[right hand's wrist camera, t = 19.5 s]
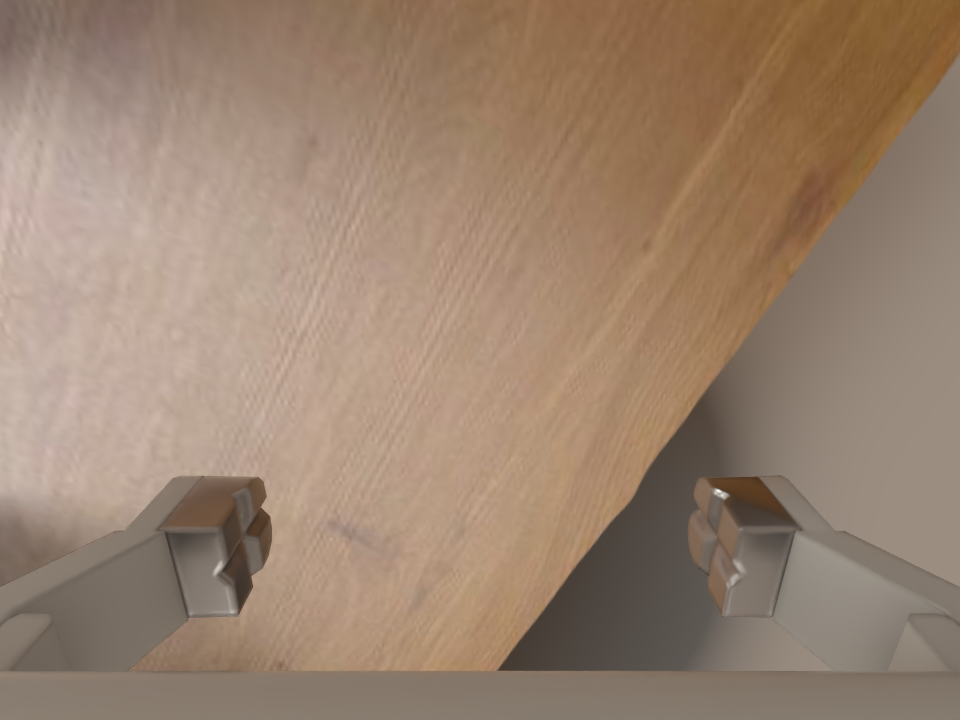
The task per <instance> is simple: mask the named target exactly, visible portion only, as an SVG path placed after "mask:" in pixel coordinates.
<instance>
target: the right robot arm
mask: <svg viewBox="0 0 960 720" xmlns="http://www.w3.org/2000/svg"><path fill="white" fill-rule="evenodd" d="M266 497H267V496H266V491H265V487H264V482H263V481H262V480H261V479H260V478H259V477H228V476H206V477H205V476H179V477H175V478H173V479H172V480H171V481H170V482H169V483H168V484H167V485H166V486H165V487H164V489H163V490H162V491H161V492H160V493H159V494H158V495H157V496H156V497H155V498H154V499H153V500H152V502H151V503H150V504H149V505H148V506H147V507H146V508H145V509H144V510H143V511H142V512H141V513H140V515H139V516H138V517H137V518H136V519H135V520H134V521H133V522H132V523H131V524H130V525H129V527H128V528H127V529H126V530H125V531H114V532H112V533H110V534H108V535H106V536H104V537H102V538H100V539H98V540H96V541H94V542H92V543H90V544H88V545H86V546H84V547H81V548H79V549H77V550H75V551H73V552H71V553H69V554H67V555H65V556H63V557H61V558H59V559H57V560H55V561H53V562H51V563H48V564H46V565H44V566H42V567H40V568H38V569H36V570H34V571H32V572H30V573H28V574H26V575H24V576H22V577H20V578H18V579H16V580H13V581H11V582H9V583H7V584H5V585H3V586H1V587H0V720H960V587H959V586H957V585H954V584H952V583H950V582H948V581H946V580H944V579H942V578H940V577H938V576H936V575H934V574H932V573H930V572H928V571H926V570H924V569H922V568H920V567H917V566H915V565H913V564H911V563H909V562H907V561H905V560H903V559H901V558H899V557H897V556H895V555H893V554H891V553H889V552H887V551H885V550H883V549H881V548H878V547H876V546H874V545H872V544H870V543H868V542H866V541H864V540H862V539H860V538H858V537H856V536H854V535H852V534H850V533H848V532H846V531H835V530H834V529H833V528H832V527H831V525H830V524H829V523H828V522H827V521H826V520H825V519H824V518H823V517H822V516H821V515H820V513H819V512H818V511H817V510H816V509H815V508H814V507H813V506H812V505H811V504H810V503H809V502H808V500H807V499H806V498H805V497H804V496H803V495H802V494H801V493H800V492H799V491H798V490H797V488H796V487H795V486H794V485H793V484H792V483H791V482H790V481H789V480H788V479H787V478H785V477H783V476H754V477H723V478H699V479H698V481H697V483H696V485H695V491H694V496H693V497H694V499H695V500H696V502H697V504H698V506H699V508H698V509H697V510H696V511H695V512H694V513H693V514H692V515H691V516H690V520H689V527H688V539H689V548H690V551H691V555H692V558H693V560H694V562H695V564H696V566H697V568H698V569H699V570H701V571H702V572H704V573H705V574H707V575H708V576H709V578H708V584H707V588H708V590H709V592H710V594H711V596H712V598H713V599H714V601H715V603H716V605H717V607H718V609H719V611H720V613H721V615H722V616H725V617H761V618H773V619H772V620H773V621H774V622H775V623H776V624H777V625H779V626H780V627H781V628H782V629H784V630H785V631H786V632H787V633H788V634H790V635H791V636H792V637H793V638H794V639H796V640H797V641H798V642H799V643H800V644H802V645H803V646H804V647H805V648H806V649H808V650H809V651H810V652H811V653H813V654H814V655H815V656H816V657H817V658H819V659H820V660H821V661H822V662H824V663H825V664H826V665H827V666H828V667H830V668H831V669H832V670H833V671H127V670H128V669H129V668H131V667H132V666H133V665H134V664H136V663H137V662H138V661H139V660H140V659H142V658H143V657H144V656H145V655H146V654H148V653H149V652H150V651H151V650H153V649H154V648H155V647H156V646H157V645H159V644H160V643H161V642H162V641H163V640H165V639H166V638H167V637H168V636H170V635H171V634H172V633H173V632H174V631H176V630H177V629H178V628H179V627H180V626H182V625H183V624H184V623H185V622H186V621H188V619H187V618H198V617H233V616H238V615H239V613H240V611H241V609H242V607H243V605H244V603H245V601H246V600H247V598H248V596H249V594H250V592H251V590H252V588H253V584H252V578H251V576H252V575H253V574H255V573H256V572H258V571H259V570H261V569H262V568H263V566H264V564H265V562H266V560H267V558H268V555H269V551H270V546H271V542H272V525H271V519H270V516H269V515H268V514H267V513H266V512H265V511H264V510H263V509H262V508H261V506H262V504H263V502H264V500H265V499H266Z"/></svg>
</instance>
